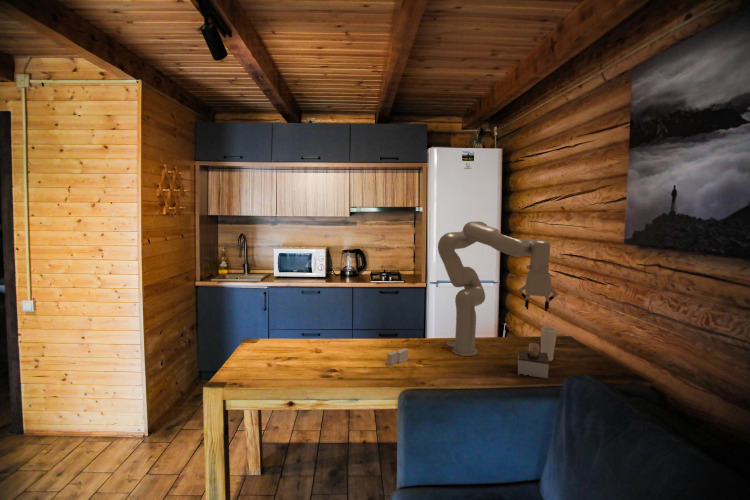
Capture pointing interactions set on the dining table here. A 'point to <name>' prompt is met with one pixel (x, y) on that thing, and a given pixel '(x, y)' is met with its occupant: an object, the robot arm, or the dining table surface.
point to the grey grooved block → (397, 356)
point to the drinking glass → (548, 341)
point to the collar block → (533, 364)
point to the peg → (533, 350)
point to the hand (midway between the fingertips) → (536, 309)
